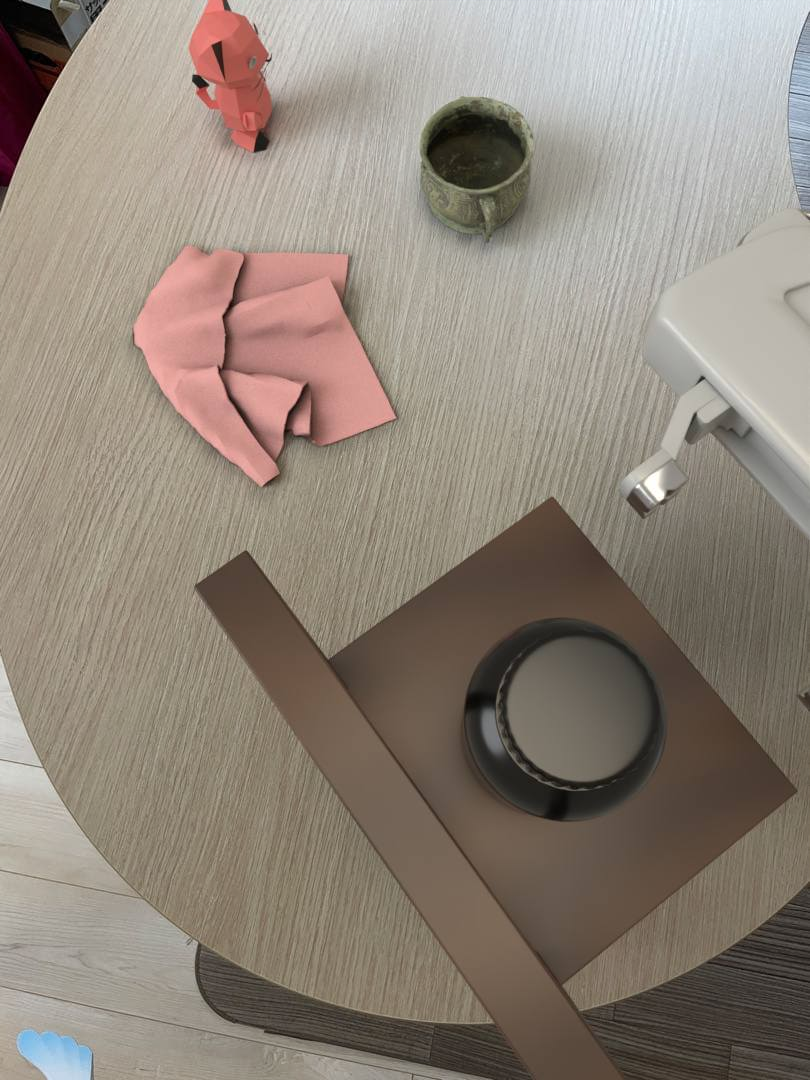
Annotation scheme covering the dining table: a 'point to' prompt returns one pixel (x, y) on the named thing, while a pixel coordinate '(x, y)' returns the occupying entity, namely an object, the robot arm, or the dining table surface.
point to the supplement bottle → (563, 720)
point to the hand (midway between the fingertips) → (721, 602)
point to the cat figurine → (232, 72)
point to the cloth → (259, 353)
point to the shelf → (475, 815)
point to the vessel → (475, 163)
